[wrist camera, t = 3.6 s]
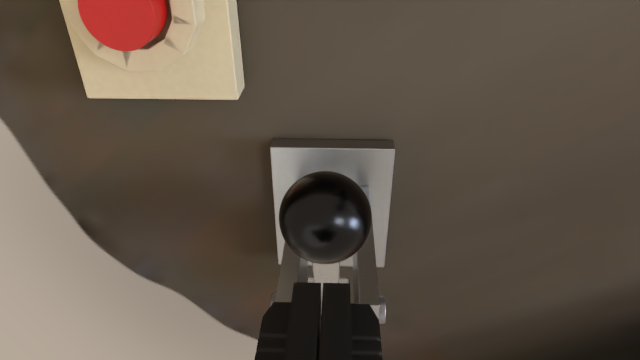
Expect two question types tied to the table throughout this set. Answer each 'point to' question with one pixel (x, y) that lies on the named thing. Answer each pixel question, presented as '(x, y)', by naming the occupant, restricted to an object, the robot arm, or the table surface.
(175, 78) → the button block
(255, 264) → the table surface
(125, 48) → the button
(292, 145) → the base
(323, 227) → the lever handle
